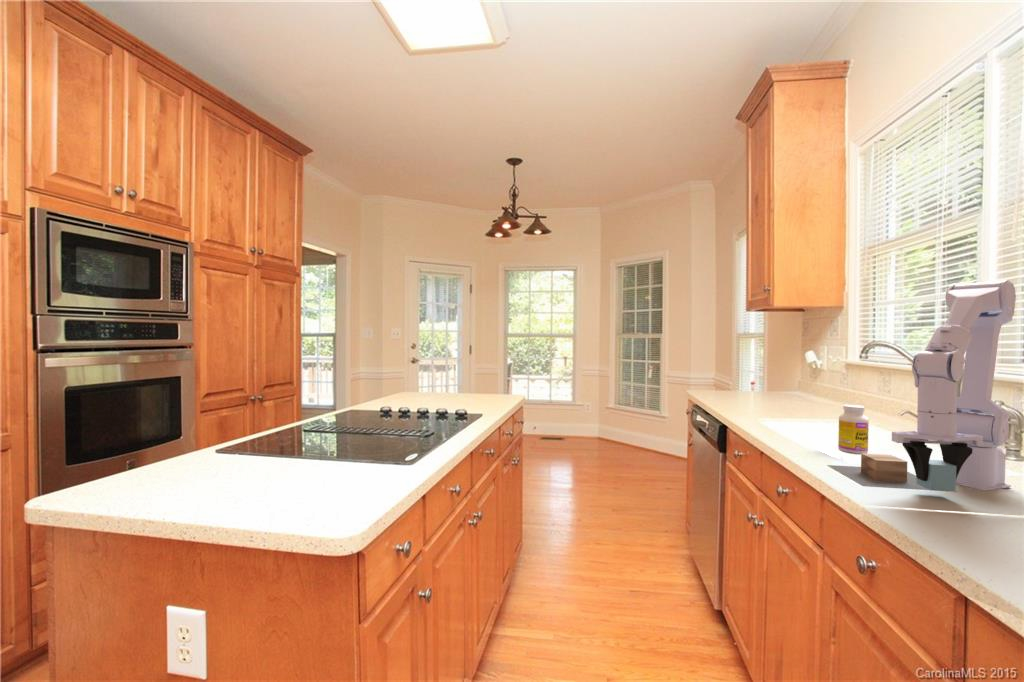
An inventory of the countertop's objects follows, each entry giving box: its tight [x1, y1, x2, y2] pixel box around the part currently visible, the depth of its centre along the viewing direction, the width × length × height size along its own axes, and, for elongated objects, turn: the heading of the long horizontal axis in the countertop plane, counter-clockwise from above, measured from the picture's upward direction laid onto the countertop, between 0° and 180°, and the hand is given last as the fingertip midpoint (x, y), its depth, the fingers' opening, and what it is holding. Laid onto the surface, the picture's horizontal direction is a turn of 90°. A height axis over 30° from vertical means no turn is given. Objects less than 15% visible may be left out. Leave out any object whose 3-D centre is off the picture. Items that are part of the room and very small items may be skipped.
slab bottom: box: [860, 462, 908, 482], centre depth 104 cm, size 6×6×2 cm
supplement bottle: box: [837, 404, 870, 456], centre depth 128 cm, size 7×7×13 cm
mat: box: [826, 464, 930, 491], centre depth 104 cm, size 16×16×1 cm
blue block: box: [916, 459, 957, 493], centre depth 92 cm, size 4×4×5 cm
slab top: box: [860, 453, 908, 472], centre depth 104 cm, size 6×6×2 cm
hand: (935, 480), depth 92 cm, fingers closed on blue block, 4 cm apart
